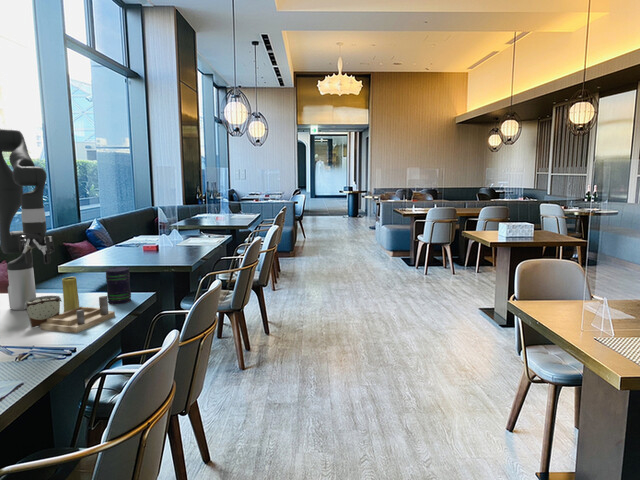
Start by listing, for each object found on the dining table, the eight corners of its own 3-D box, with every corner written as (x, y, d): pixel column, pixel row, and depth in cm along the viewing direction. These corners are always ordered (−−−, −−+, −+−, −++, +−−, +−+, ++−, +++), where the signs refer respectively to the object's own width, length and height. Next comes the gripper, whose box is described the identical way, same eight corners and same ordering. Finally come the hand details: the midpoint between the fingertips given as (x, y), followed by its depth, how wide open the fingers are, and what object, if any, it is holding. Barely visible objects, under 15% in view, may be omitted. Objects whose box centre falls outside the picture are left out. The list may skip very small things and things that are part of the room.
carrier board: (40, 329, 167) (38, 305, 166) (82, 313, 186) (80, 292, 185) (76, 332, 163) (74, 308, 162) (114, 316, 182) (113, 294, 181)
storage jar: (135, 301, 204) (133, 268, 202) (113, 305, 197) (111, 272, 195) (125, 297, 211) (123, 265, 208) (103, 301, 203) (101, 269, 201)
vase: (83, 309, 192) (80, 276, 189) (74, 314, 185) (71, 280, 183) (69, 309, 192) (67, 276, 190) (60, 313, 186) (57, 279, 184)
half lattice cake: (58, 317, 181) (56, 293, 179) (63, 321, 176) (61, 296, 175) (22, 325, 172) (20, 299, 171) (26, 328, 168) (24, 302, 166)
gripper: (9, 221, 167) (14, 264, 169) (40, 222, 163) (45, 266, 165) (27, 219, 174) (31, 260, 176) (57, 220, 170) (61, 262, 173)
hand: (38, 263), depth 171 cm, fingers open, 8 cm apart
